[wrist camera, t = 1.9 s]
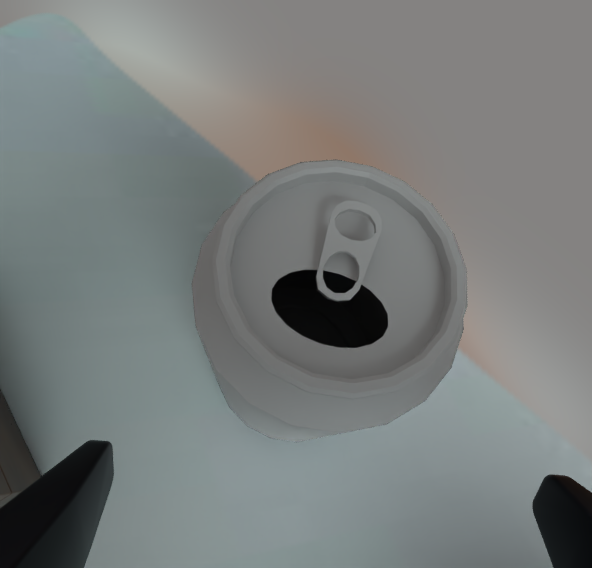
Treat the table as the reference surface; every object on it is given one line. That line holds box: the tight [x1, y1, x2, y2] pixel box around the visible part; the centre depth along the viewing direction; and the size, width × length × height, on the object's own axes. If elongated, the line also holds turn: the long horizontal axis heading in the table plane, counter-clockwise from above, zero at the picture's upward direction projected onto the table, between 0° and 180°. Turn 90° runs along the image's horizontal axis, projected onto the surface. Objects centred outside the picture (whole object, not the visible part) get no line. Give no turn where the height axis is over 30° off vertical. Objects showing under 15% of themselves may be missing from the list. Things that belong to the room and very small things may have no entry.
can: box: [192, 160, 467, 442], centre depth 15 cm, size 8×8×12 cm
